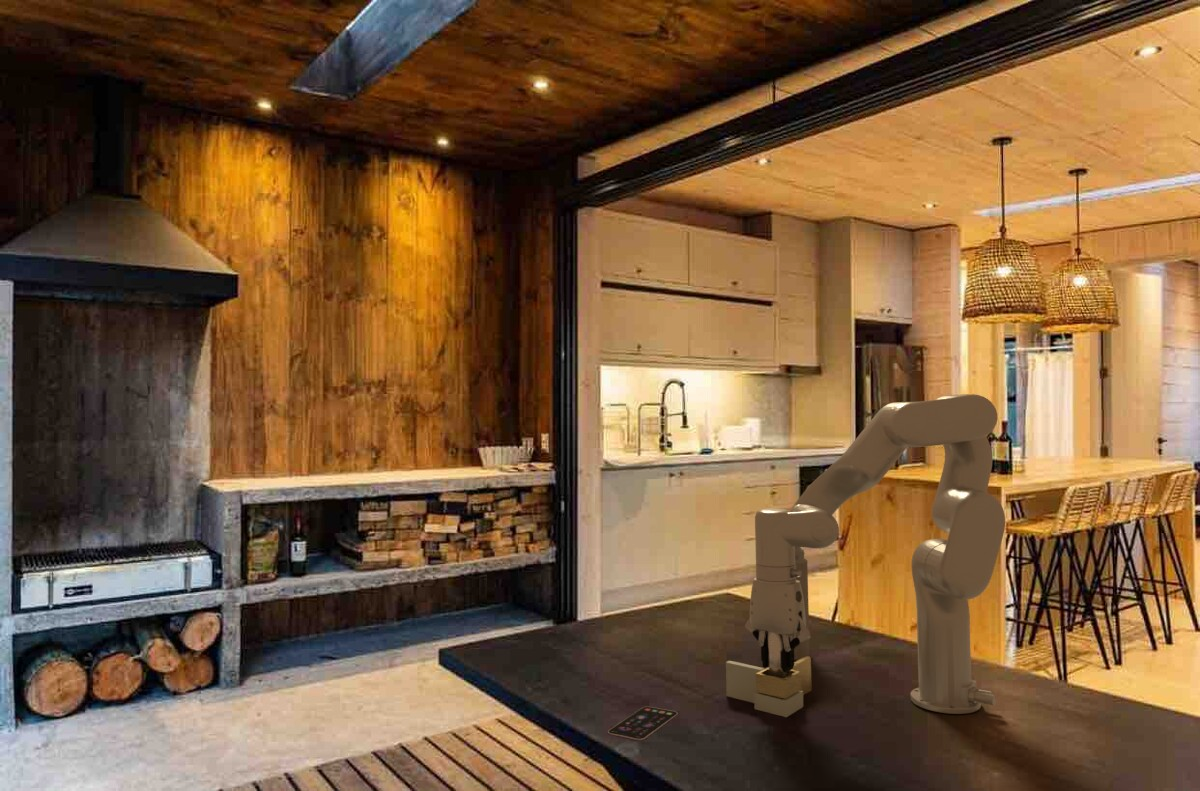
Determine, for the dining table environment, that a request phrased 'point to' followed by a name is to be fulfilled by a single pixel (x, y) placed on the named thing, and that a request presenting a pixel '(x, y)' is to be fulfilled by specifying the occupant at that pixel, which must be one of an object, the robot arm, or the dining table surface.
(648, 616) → the dining table surface
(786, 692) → the fixed leaf
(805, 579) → the thermos bottle
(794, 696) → the loose leaf
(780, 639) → the pin
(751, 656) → the dining table surface
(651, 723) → the smartphone
